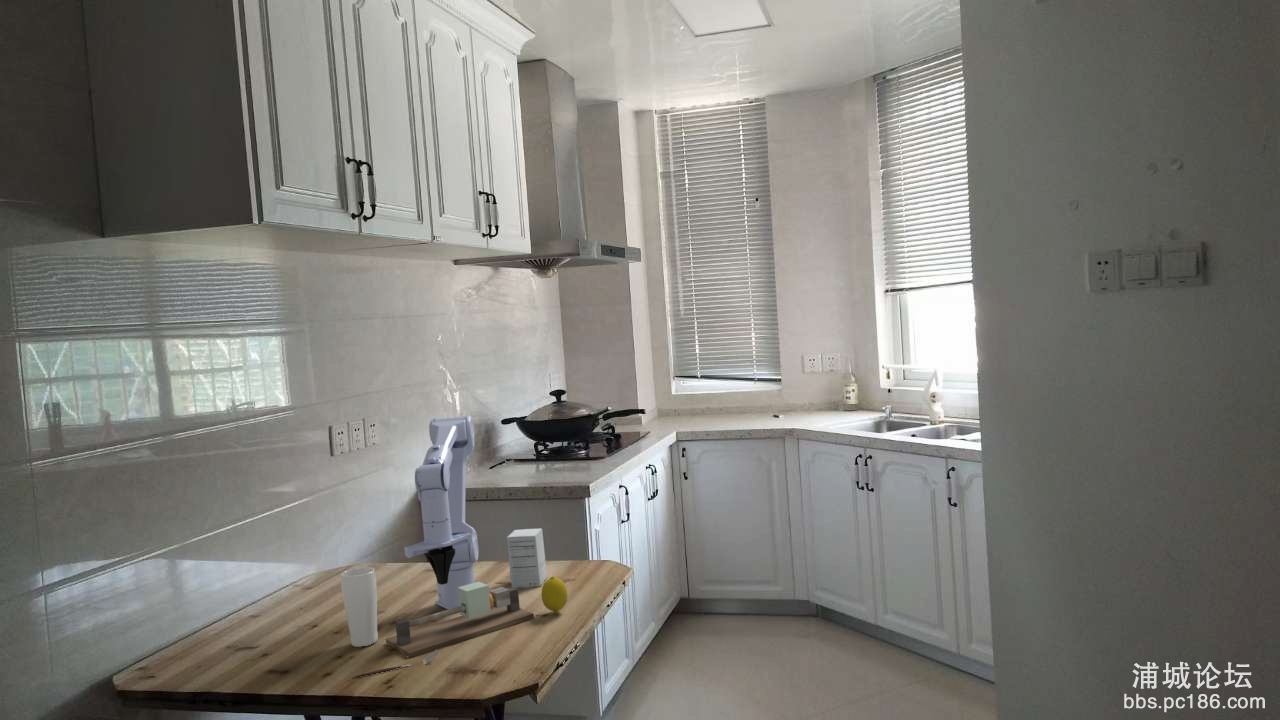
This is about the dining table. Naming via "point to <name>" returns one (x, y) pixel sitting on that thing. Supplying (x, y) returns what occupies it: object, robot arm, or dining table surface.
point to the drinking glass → (360, 605)
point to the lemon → (554, 594)
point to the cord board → (458, 624)
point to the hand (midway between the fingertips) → (442, 583)
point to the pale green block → (474, 599)
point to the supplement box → (526, 558)
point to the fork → (400, 666)
